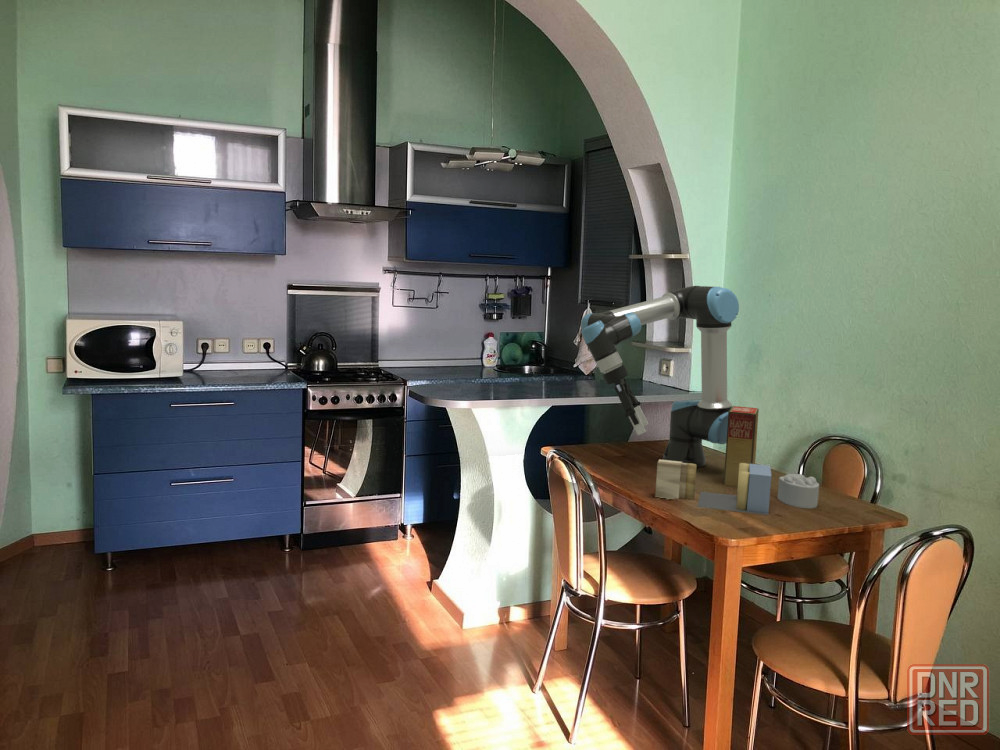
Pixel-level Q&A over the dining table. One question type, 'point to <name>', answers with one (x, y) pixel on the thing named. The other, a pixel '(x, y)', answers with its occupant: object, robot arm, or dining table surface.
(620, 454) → the dining table surface
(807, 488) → the lumpy-topped squat cylinder
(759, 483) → the fixed leaf
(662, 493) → the beige block
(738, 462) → the food packaging
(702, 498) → the mat
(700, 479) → the dining table surface
